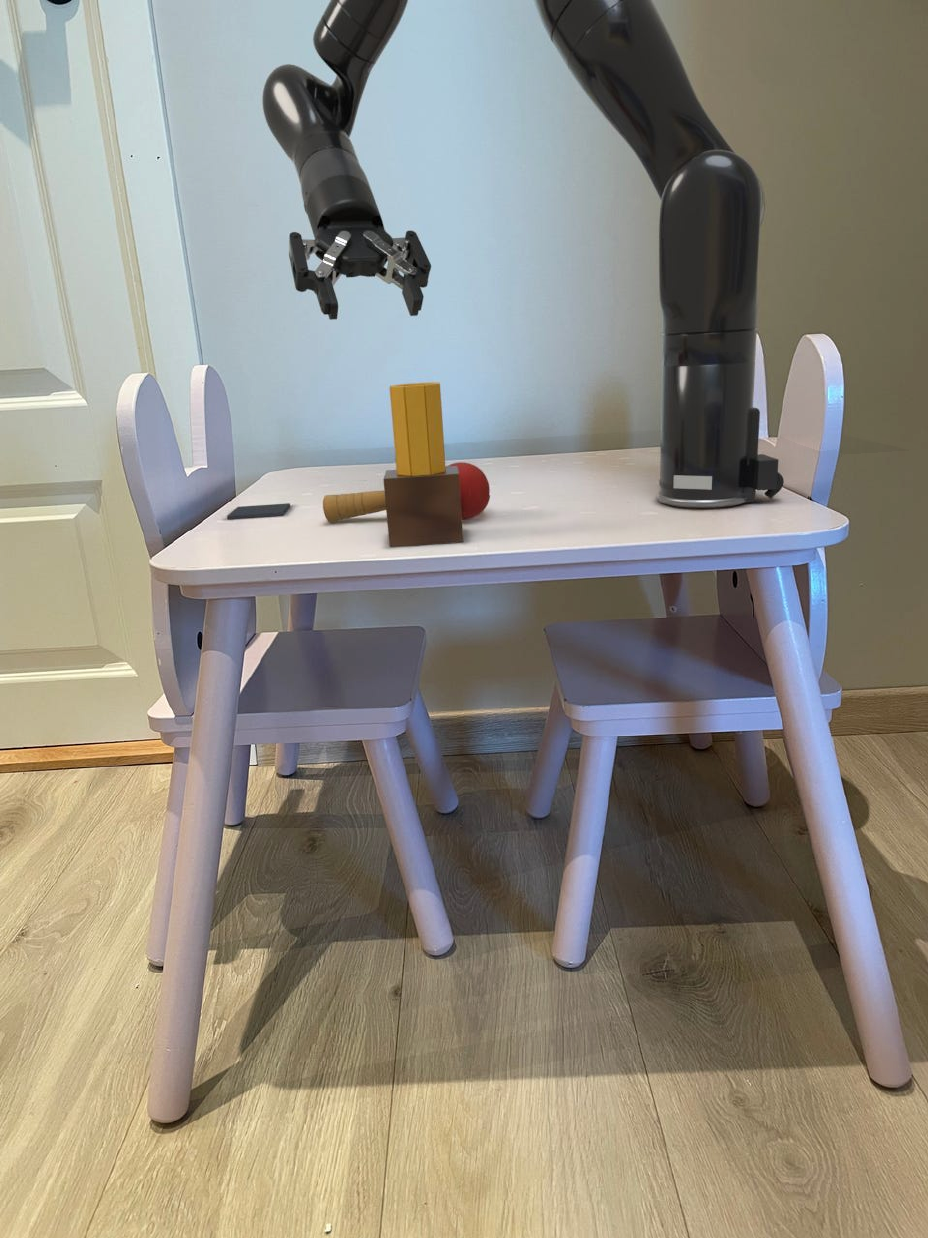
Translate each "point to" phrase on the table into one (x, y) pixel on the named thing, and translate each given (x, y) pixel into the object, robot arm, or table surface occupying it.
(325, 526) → the table surface
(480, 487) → the kendama
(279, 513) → the coaster
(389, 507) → the stand
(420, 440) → the sleeve
